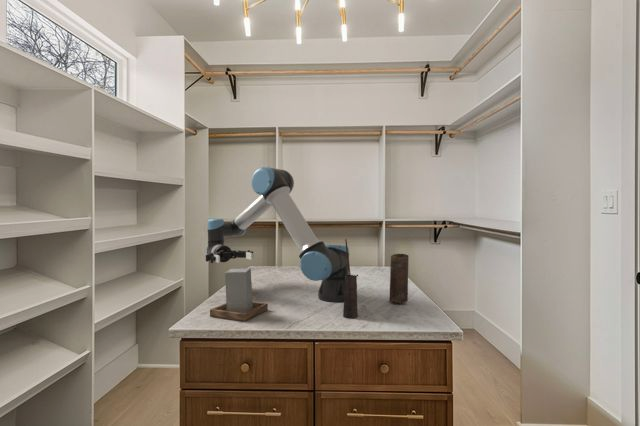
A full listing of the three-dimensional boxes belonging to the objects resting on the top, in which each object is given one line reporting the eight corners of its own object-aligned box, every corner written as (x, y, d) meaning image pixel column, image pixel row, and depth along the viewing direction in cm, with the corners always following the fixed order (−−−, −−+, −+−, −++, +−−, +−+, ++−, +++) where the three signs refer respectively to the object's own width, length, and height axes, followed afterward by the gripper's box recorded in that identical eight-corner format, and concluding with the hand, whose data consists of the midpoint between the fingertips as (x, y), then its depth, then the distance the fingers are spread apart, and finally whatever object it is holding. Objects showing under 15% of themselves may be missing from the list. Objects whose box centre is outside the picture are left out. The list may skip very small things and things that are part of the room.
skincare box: (253, 309, 133) (252, 267, 133) (247, 315, 126) (247, 271, 125) (231, 308, 134) (231, 267, 133) (224, 314, 127) (224, 270, 126)
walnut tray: (267, 310, 134) (267, 303, 134) (244, 321, 120) (244, 314, 120) (235, 305, 140) (235, 299, 139) (209, 316, 126) (209, 309, 126)
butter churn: (369, 314, 129) (369, 238, 128) (361, 321, 120) (361, 240, 119) (345, 311, 132) (345, 237, 132) (336, 318, 124) (336, 239, 123)
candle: (411, 303, 144) (411, 254, 143) (402, 306, 138) (402, 256, 138) (395, 299, 149) (395, 252, 149) (385, 303, 144) (386, 254, 143)
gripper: (248, 259, 165) (265, 264, 147) (193, 264, 153) (204, 270, 134) (247, 243, 165) (264, 246, 147) (192, 247, 153) (203, 251, 134)
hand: (235, 258), depth 141 cm, fingers open, 13 cm apart
